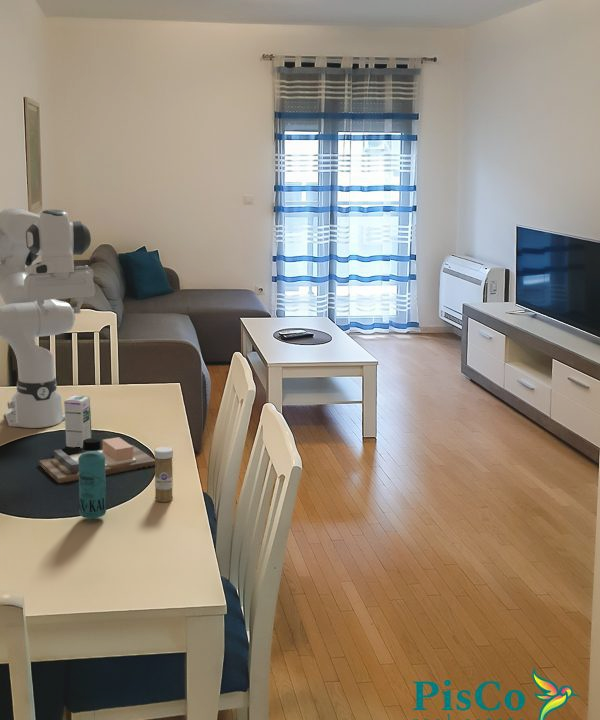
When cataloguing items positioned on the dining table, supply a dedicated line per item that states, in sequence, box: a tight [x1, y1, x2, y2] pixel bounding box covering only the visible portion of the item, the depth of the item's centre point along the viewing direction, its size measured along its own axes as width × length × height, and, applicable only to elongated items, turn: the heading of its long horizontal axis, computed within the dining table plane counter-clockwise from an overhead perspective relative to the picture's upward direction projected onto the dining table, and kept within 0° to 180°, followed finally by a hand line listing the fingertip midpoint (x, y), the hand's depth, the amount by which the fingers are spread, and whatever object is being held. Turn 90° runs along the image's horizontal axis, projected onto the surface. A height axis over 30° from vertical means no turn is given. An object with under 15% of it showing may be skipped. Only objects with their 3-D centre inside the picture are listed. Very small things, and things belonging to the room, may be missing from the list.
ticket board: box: [38, 444, 155, 484], centre depth 252 cm, size 16×28×4 cm, turn 124°
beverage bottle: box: [77, 437, 108, 519], centre depth 214 cm, size 6×7×20 cm
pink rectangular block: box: [97, 436, 136, 466], centre depth 255 cm, size 12×8×4 cm, turn 34°
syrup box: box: [63, 395, 93, 449], centre depth 269 cm, size 6×6×14 cm
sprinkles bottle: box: [154, 446, 174, 503], centre depth 228 cm, size 5×5×14 cm
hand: (61, 314), depth 262 cm, fingers open, 8 cm apart
